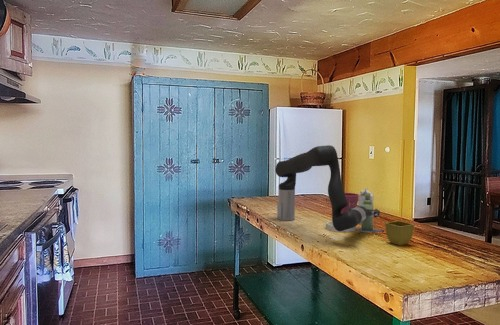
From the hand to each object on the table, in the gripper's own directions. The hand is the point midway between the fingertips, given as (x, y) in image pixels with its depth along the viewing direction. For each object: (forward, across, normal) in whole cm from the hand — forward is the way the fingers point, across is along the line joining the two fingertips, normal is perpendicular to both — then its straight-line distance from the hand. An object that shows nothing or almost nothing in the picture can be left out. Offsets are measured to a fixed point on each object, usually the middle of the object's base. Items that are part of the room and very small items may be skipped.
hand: (368, 210), depth 191 cm
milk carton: (+15, +6, +10) cm, 19 cm away
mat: (-2, 0, +10) cm, 10 cm away
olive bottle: (-2, 0, +10) cm, 10 cm away
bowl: (-8, +12, +10) cm, 17 cm away
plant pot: (+30, +23, +10) cm, 39 cm away
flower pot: (-18, -19, +10) cm, 28 cm away
